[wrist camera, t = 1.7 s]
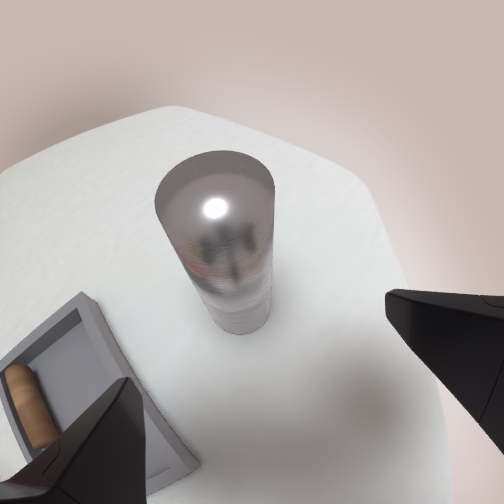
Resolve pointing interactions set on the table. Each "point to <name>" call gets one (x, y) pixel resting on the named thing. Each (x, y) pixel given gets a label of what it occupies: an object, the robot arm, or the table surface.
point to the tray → (88, 385)
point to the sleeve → (223, 233)
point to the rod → (30, 406)
